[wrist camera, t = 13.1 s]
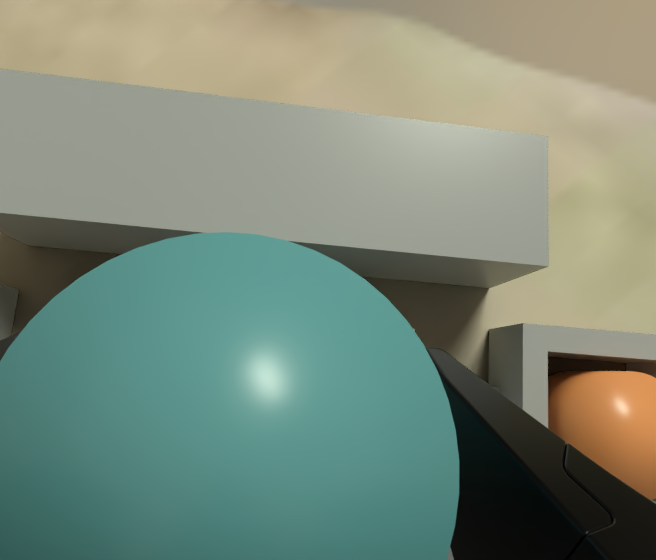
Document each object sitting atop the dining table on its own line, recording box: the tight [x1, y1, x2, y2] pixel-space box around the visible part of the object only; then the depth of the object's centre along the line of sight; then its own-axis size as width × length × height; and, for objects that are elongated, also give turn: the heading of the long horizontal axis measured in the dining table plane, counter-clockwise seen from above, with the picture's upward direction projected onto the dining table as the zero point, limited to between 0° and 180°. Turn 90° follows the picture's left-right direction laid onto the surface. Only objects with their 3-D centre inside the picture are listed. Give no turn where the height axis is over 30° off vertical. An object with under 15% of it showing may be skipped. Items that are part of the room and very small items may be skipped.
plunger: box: [548, 371, 656, 500], centre depth 16 cm, size 4×4×3 cm
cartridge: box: [0, 232, 459, 560], centre depth 11 cm, size 5×5×12 cm
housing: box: [0, 69, 656, 503], centre depth 15 cm, size 12×28×4 cm, turn 86°
